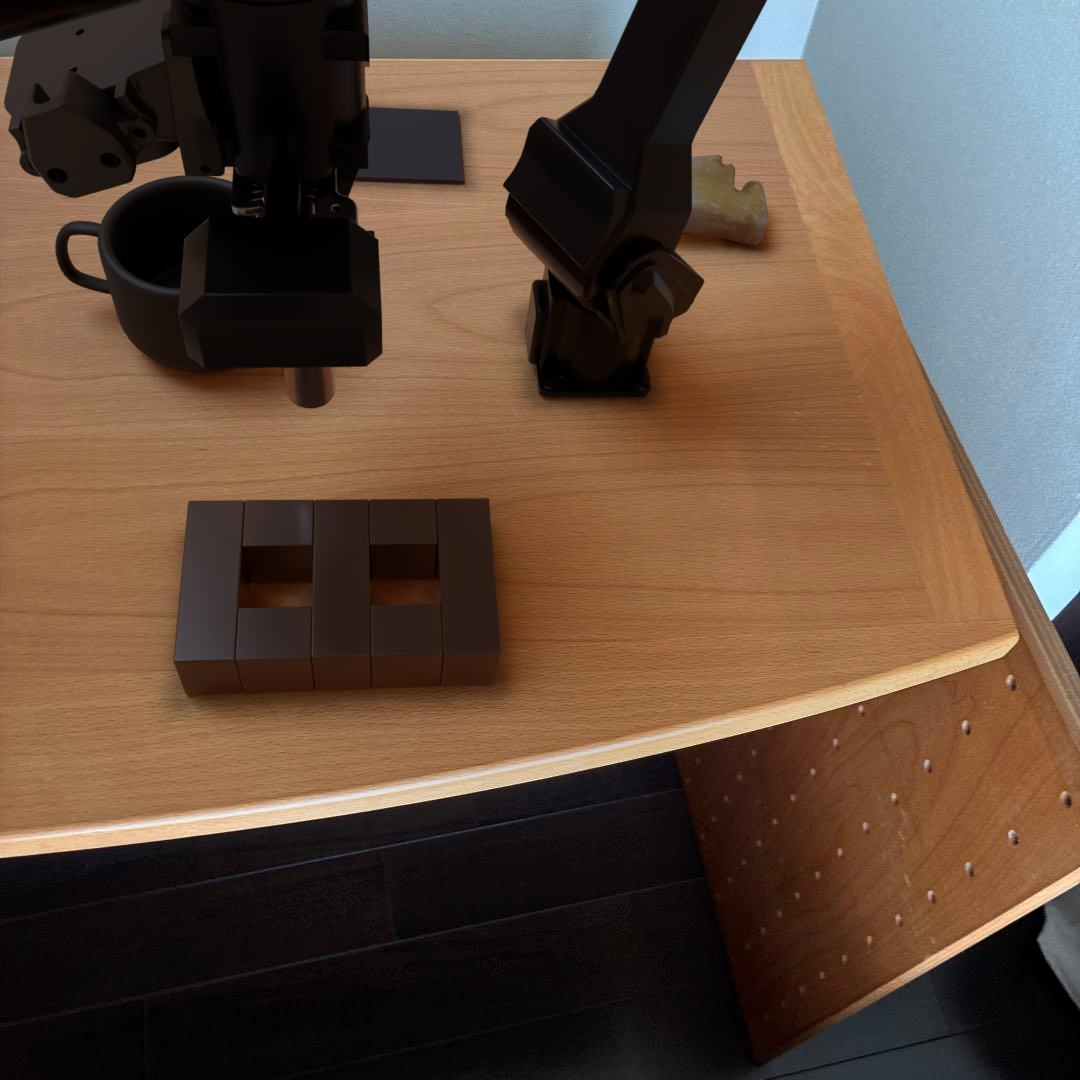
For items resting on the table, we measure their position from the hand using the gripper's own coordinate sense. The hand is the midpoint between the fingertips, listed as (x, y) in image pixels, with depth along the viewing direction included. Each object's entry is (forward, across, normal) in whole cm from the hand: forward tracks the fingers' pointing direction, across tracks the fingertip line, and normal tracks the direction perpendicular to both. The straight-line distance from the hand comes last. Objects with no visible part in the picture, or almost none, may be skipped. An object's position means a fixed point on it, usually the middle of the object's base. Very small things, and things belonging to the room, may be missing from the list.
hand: (303, 312), depth 46 cm
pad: (+13, -27, +6) cm, 30 cm away
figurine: (+13, -21, +20) cm, 32 cm away
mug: (+13, -11, -8) cm, 19 cm away
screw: (+5, 0, 0) cm, 5 cm away
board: (+13, +7, +1) cm, 15 cm away
